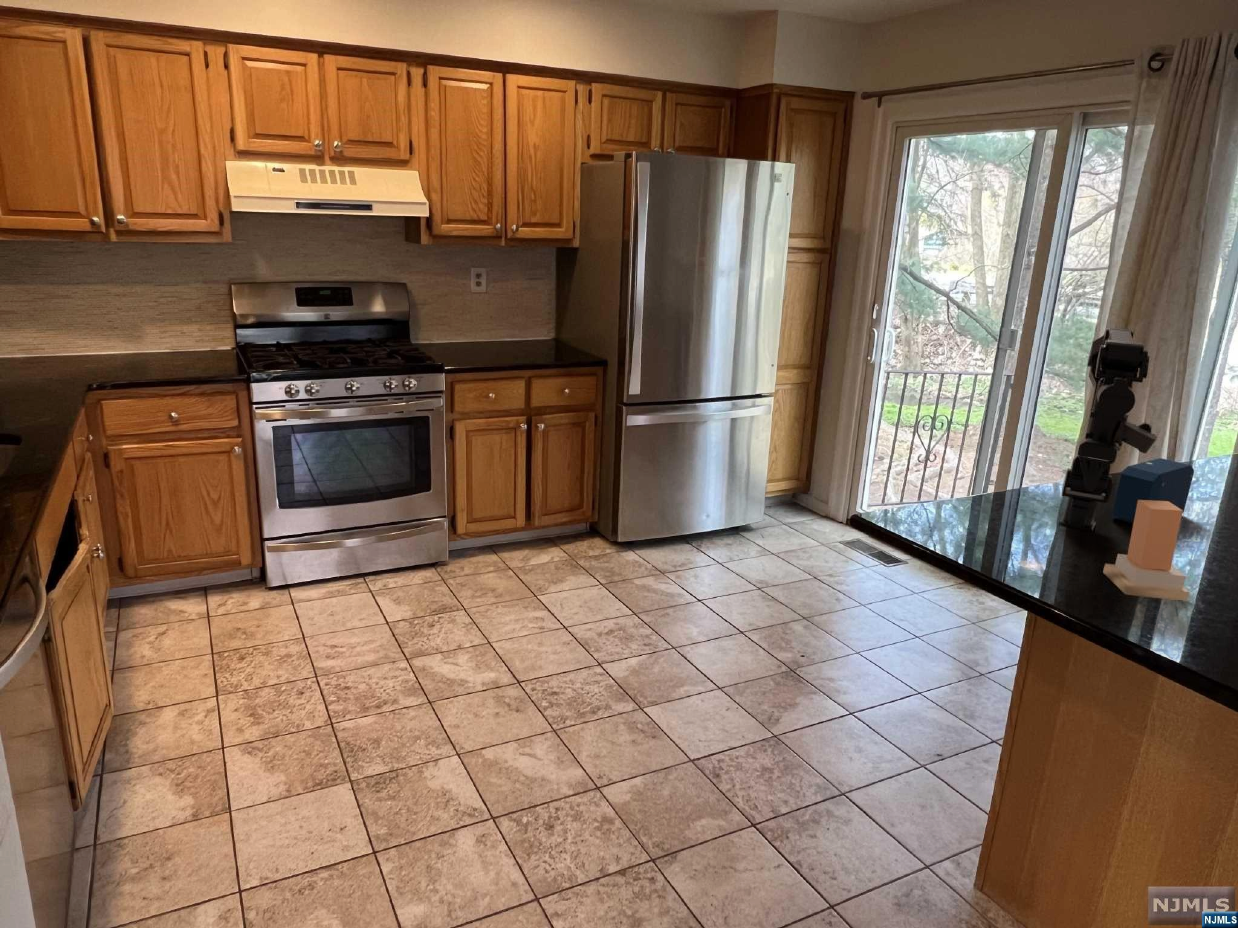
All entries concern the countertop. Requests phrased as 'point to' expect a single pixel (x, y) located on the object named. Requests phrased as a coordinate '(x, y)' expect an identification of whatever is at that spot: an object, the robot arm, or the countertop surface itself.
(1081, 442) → the robot arm
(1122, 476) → the navy rounded box
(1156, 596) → the tower base
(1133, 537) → the pillar block
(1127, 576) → the tower top
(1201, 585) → the countertop surface
